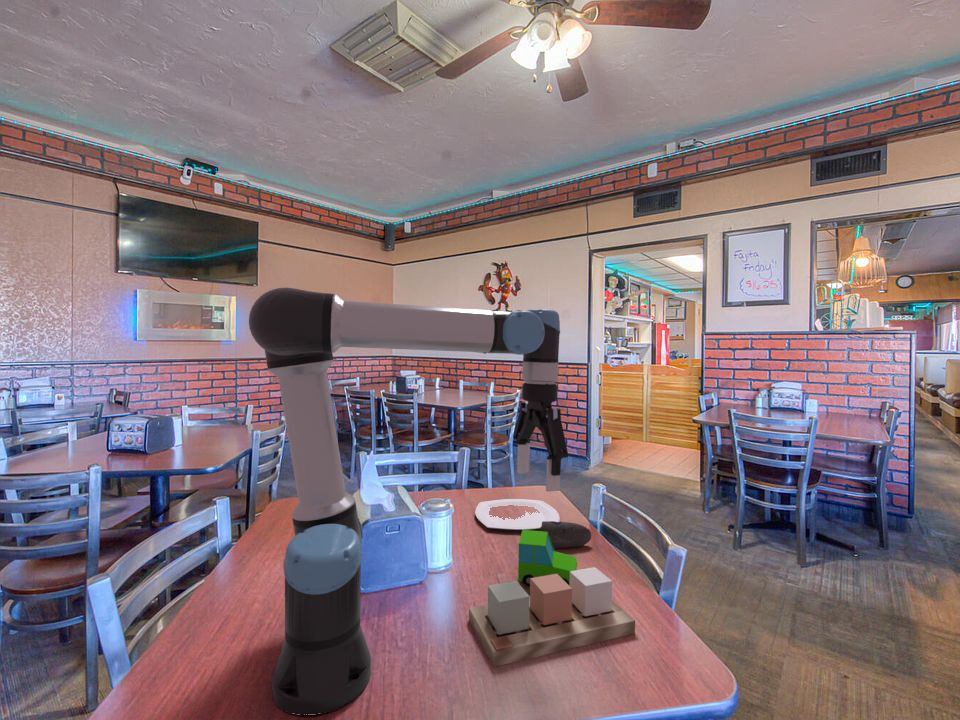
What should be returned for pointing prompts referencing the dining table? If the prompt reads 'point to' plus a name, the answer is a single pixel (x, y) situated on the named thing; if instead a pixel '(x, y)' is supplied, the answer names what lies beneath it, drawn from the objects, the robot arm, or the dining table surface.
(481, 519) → the plate
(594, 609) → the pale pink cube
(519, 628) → the sage button
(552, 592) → the terracotta button
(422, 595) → the dining table surface
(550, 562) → the toy car
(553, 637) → the board
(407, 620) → the dining table surface
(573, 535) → the perforated stone tool
